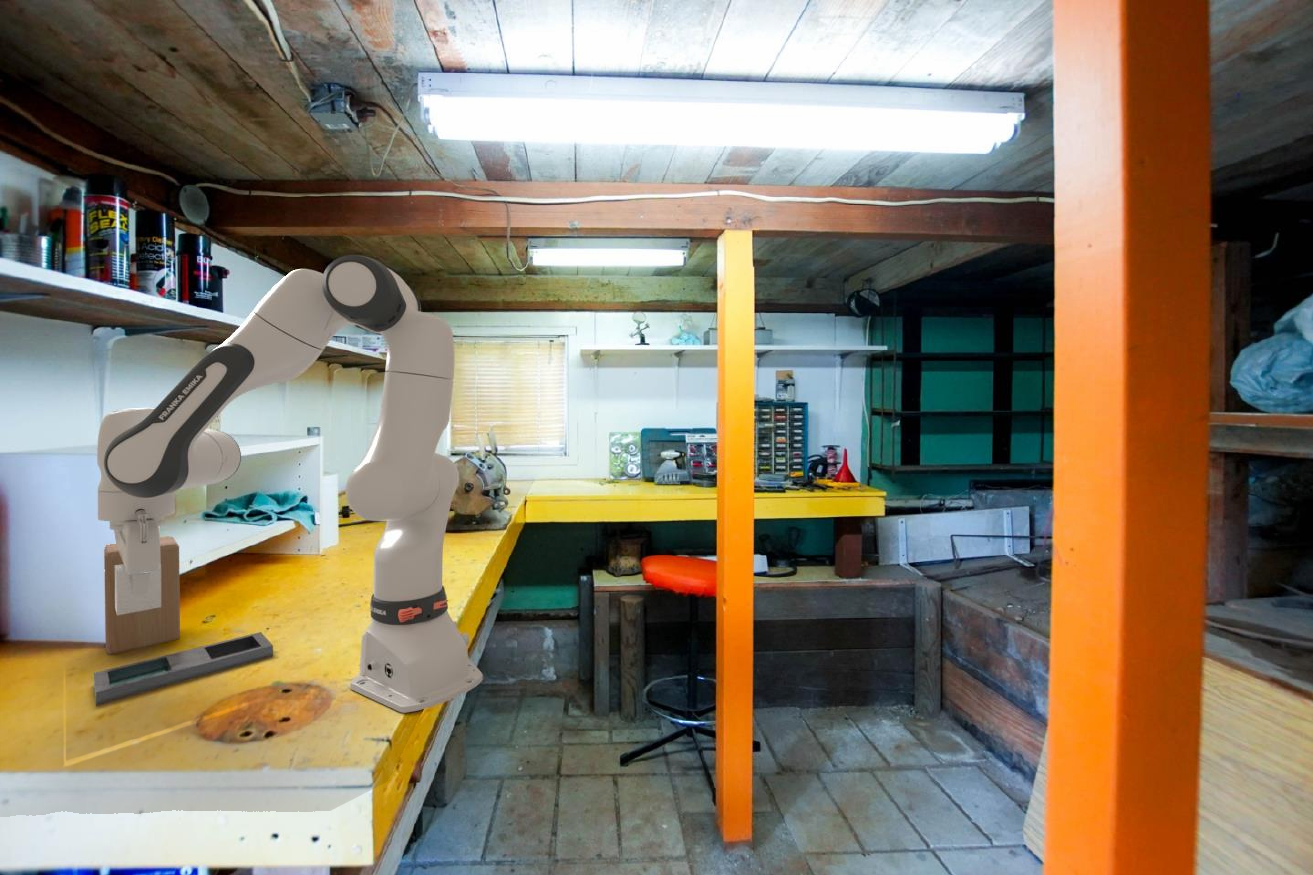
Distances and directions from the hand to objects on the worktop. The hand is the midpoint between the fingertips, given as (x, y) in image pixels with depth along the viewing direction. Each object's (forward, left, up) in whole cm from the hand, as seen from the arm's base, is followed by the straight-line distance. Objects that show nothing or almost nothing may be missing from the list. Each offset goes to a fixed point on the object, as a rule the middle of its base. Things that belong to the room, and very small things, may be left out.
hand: (138, 589), depth 83 cm
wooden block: (+23, -2, -17) cm, 28 cm away
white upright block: (0, 0, -3) cm, 3 cm away
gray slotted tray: (0, -6, -16) cm, 17 cm away
